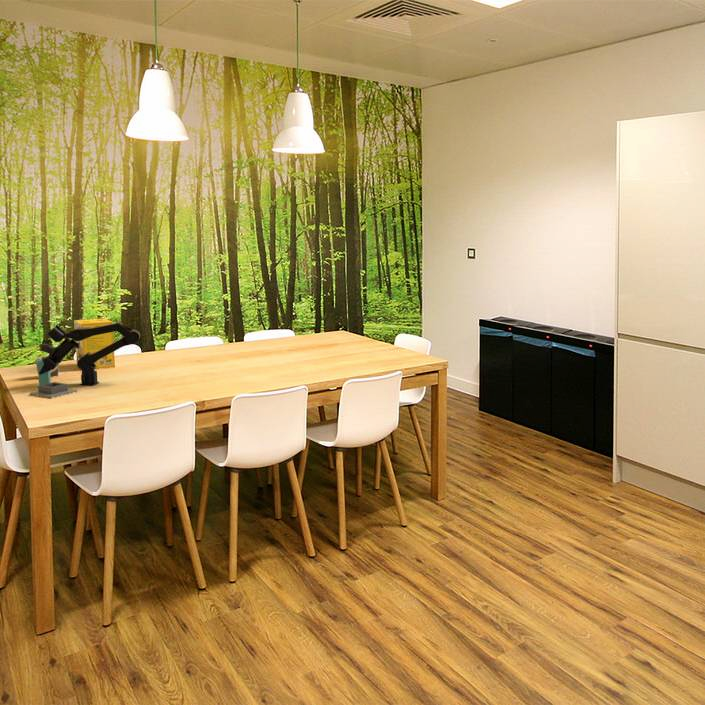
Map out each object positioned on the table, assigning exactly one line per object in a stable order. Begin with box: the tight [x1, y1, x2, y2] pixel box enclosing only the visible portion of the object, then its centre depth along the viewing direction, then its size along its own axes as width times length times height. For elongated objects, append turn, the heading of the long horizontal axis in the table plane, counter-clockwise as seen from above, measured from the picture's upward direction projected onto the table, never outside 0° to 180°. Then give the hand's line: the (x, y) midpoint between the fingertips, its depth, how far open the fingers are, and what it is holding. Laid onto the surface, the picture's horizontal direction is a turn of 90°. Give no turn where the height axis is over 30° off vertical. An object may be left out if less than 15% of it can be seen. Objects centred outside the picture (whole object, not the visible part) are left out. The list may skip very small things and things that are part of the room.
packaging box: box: [73, 317, 116, 370], centre depth 372 cm, size 16×16×25 cm
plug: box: [36, 356, 52, 386], centre depth 328 cm, size 4×4×14 cm
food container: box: [34, 355, 59, 378], centre depth 348 cm, size 12×6×10 cm, turn 141°
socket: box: [29, 381, 78, 399], centre depth 314 cm, size 14×14×4 cm
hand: (41, 372), depth 328 cm, fingers open, 6 cm apart
